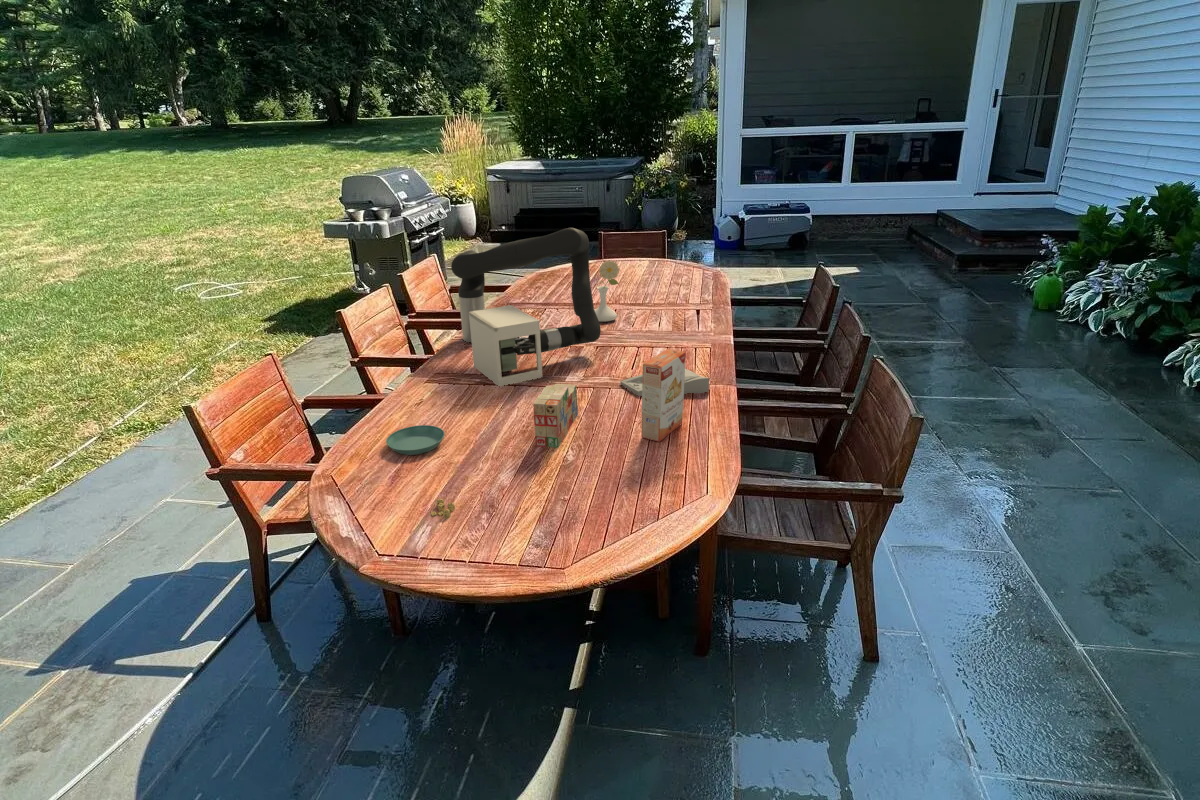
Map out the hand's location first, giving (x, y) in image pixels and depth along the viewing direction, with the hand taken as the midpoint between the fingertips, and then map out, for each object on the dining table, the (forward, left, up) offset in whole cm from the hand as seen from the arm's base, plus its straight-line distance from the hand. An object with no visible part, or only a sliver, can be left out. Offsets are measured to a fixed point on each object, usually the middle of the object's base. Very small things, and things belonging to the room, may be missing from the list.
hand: (498, 349), depth 219 cm
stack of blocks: (+49, -3, -9) cm, 50 cm away
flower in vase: (-35, +61, -8) cm, 71 cm away
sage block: (0, +3, -7) cm, 7 cm away
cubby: (0, +3, -8) cm, 9 cm away
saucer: (+38, -39, -9) cm, 55 cm away
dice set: (+73, -43, -9) cm, 85 cm away
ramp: (+40, +38, -9) cm, 56 cm away
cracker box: (+65, +20, -9) cm, 69 cm away
